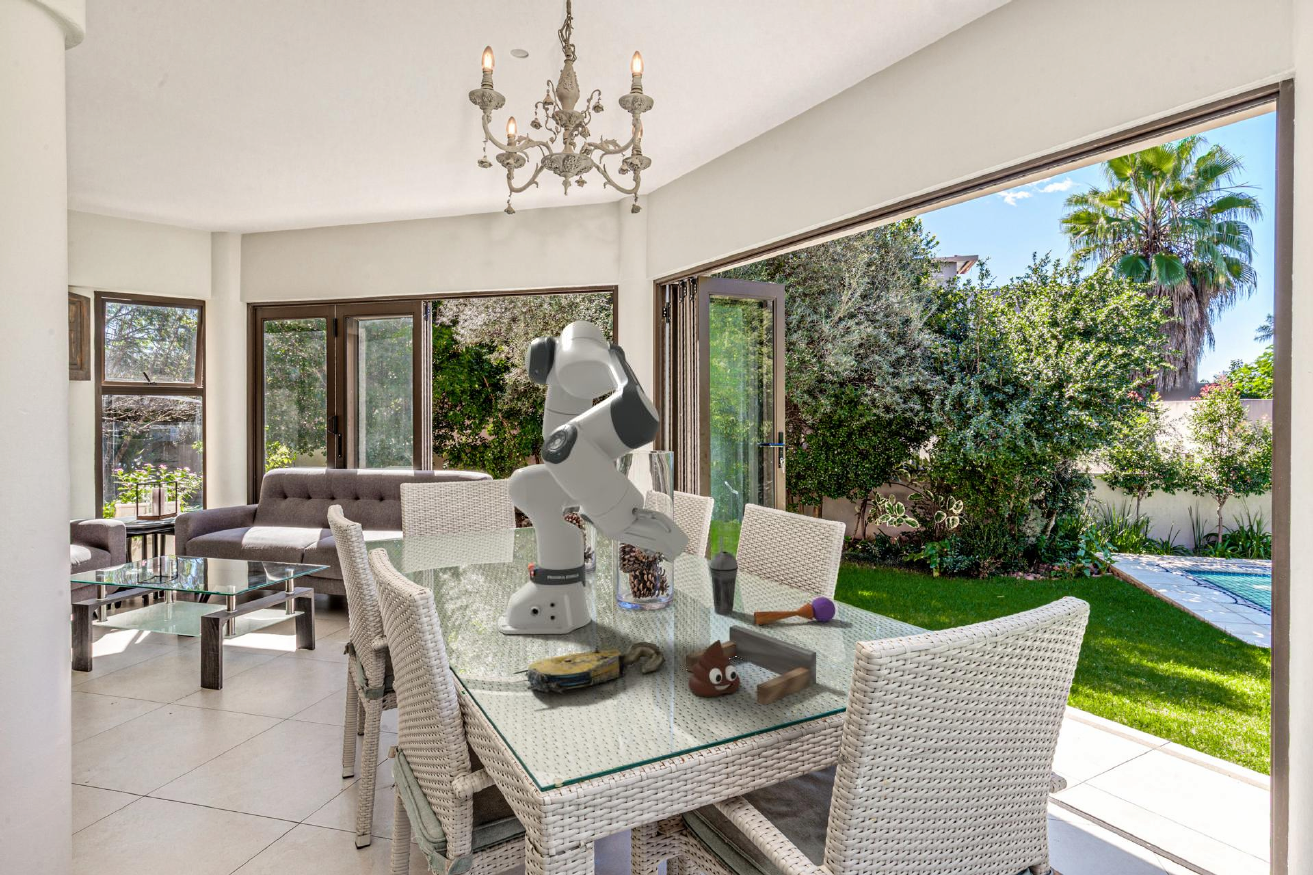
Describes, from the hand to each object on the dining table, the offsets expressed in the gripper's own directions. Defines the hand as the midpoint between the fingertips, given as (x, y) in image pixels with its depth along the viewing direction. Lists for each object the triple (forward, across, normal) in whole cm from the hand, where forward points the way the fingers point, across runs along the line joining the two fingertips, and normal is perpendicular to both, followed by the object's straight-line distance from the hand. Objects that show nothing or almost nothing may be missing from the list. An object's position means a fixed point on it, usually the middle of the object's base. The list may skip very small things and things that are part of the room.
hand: (662, 556), depth 120 cm
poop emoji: (+29, 0, +10) cm, 31 cm away
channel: (+35, 0, +3) cm, 35 cm away
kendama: (+59, +14, -20) cm, 64 cm away
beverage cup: (+53, +32, -14) cm, 63 cm away
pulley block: (+19, +19, +20) cm, 34 cm away
